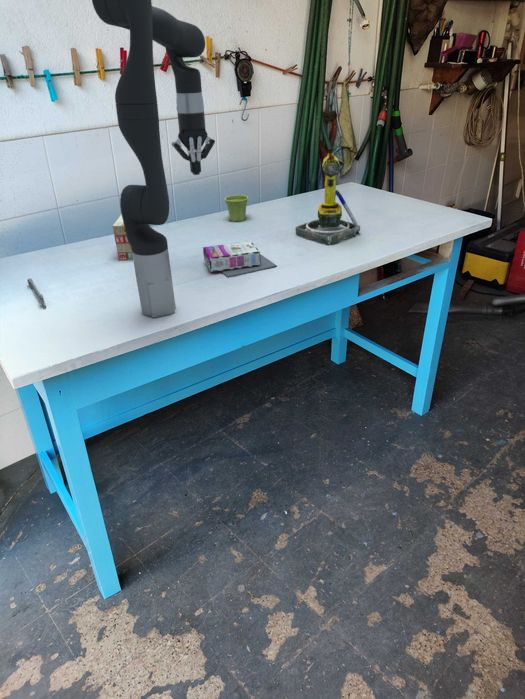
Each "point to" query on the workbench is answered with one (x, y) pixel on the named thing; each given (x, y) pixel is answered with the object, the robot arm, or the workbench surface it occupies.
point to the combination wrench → (36, 291)
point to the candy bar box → (231, 256)
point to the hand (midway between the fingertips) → (196, 174)
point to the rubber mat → (250, 268)
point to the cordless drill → (330, 210)
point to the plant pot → (237, 207)
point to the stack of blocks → (122, 240)
